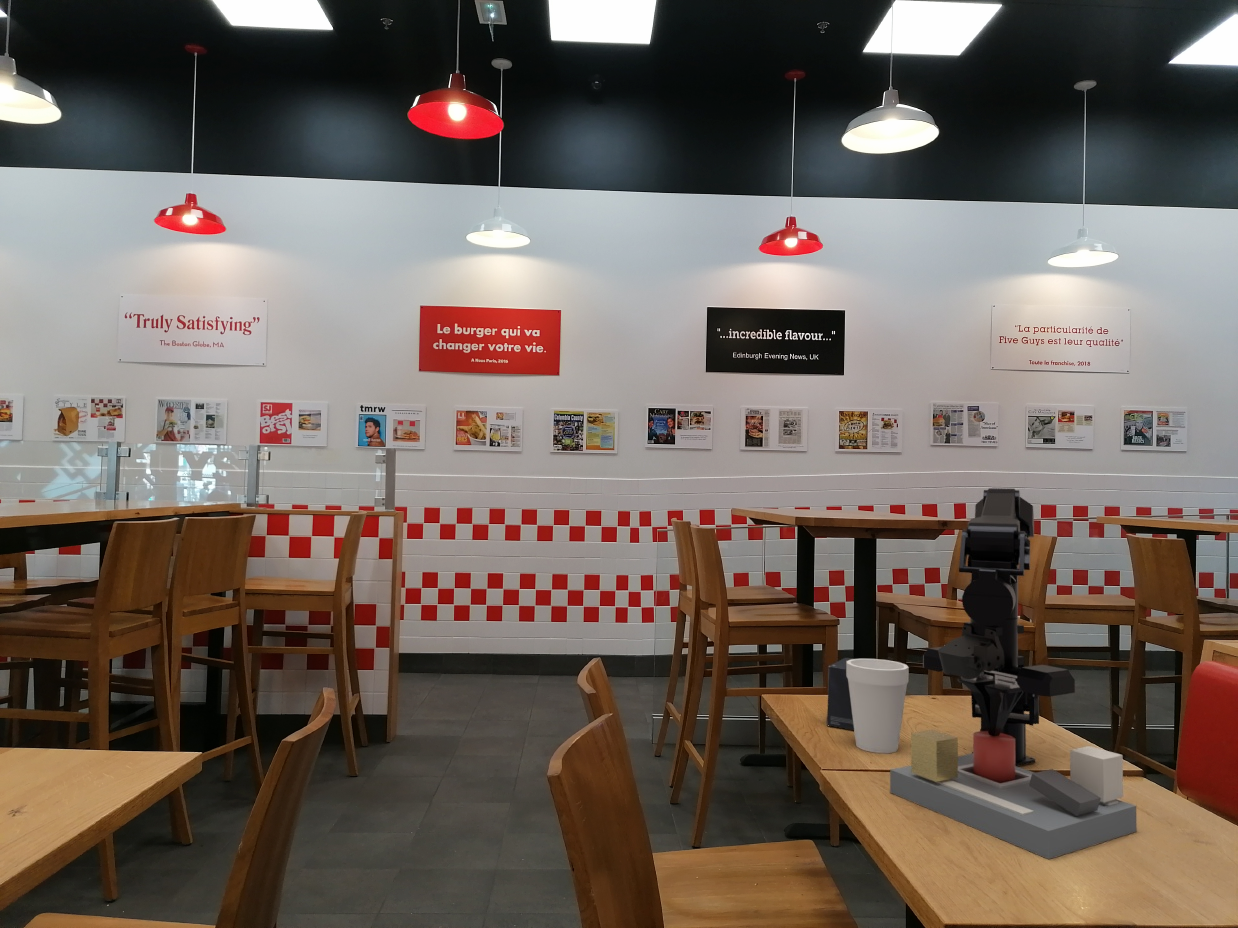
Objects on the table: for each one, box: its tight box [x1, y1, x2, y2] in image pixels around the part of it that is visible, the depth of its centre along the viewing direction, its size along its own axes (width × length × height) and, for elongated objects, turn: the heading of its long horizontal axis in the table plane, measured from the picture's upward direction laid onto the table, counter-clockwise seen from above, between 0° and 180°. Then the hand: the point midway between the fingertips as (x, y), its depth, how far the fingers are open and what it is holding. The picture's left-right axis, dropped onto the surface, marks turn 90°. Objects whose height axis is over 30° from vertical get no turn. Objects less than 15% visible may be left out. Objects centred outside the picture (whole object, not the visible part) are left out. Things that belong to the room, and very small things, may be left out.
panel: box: [889, 753, 1138, 860], centre depth 99 cm, size 17×22×3 cm
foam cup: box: [846, 658, 910, 754], centre depth 125 cm, size 10×9×13 cm
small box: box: [826, 657, 854, 731], centre depth 139 cm, size 11×6×10 cm, turn 148°
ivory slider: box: [1069, 745, 1124, 802], centre depth 96 cm, size 4×4×5 cm
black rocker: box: [1029, 768, 1101, 816], centre depth 92 cm, size 4×6×2 cm, turn 29°
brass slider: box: [910, 729, 959, 782], centre depth 101 cm, size 4×4×5 cm
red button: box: [972, 730, 1015, 783], centre depth 103 cm, size 5×5×6 cm
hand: (994, 735), depth 104 cm, fingers closed
